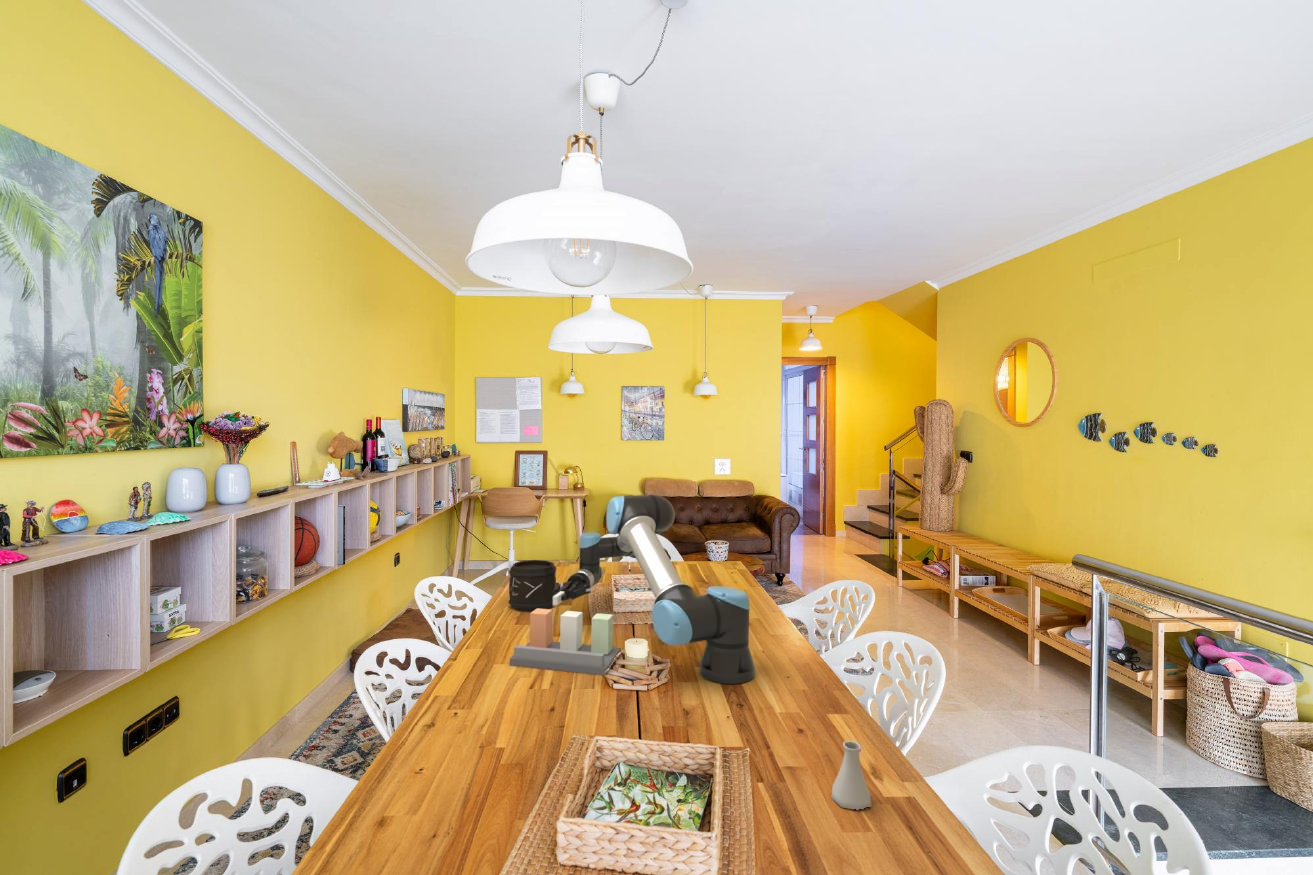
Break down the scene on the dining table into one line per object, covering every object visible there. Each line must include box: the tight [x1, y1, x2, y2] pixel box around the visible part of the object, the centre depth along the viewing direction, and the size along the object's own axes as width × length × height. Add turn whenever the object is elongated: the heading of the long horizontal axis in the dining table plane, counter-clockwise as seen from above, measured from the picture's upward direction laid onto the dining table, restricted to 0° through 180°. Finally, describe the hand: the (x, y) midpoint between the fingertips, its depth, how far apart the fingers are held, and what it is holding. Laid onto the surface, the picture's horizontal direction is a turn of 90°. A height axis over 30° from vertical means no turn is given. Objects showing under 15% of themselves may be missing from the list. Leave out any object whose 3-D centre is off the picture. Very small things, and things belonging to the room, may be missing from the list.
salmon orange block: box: [529, 608, 554, 648], centre depth 181 cm, size 5×5×10 cm
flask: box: [831, 740, 872, 811], centre depth 111 cm, size 7×7×10 cm
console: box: [509, 640, 622, 676], centre depth 176 cm, size 28×16×5 cm, turn 77°
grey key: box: [559, 610, 584, 651], centre depth 179 cm, size 5×5×10 cm
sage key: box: [590, 613, 614, 655], centre depth 177 cm, size 5×5×10 cm
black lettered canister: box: [508, 559, 557, 613], centre depth 228 cm, size 18×18×16 cm
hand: (554, 600), depth 191 cm, fingers closed
